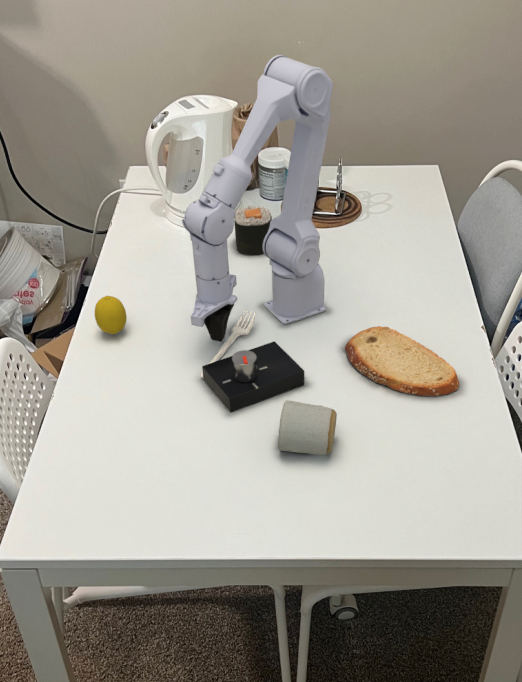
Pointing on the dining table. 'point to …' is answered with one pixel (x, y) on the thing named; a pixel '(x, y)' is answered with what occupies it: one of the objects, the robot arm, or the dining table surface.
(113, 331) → the lemon
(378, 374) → the bread slice
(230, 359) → the black knob base
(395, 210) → the dining table surface
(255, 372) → the hob knob
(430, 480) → the dining table surface
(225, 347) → the fork
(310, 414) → the ceramic mug
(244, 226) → the sushi
